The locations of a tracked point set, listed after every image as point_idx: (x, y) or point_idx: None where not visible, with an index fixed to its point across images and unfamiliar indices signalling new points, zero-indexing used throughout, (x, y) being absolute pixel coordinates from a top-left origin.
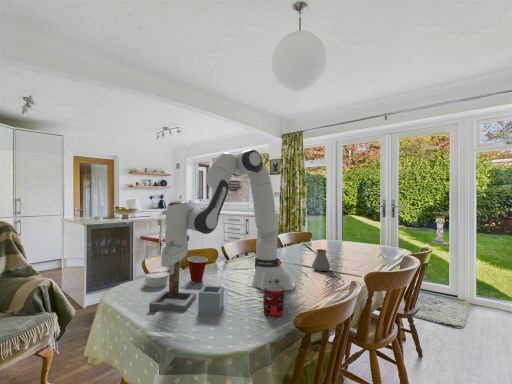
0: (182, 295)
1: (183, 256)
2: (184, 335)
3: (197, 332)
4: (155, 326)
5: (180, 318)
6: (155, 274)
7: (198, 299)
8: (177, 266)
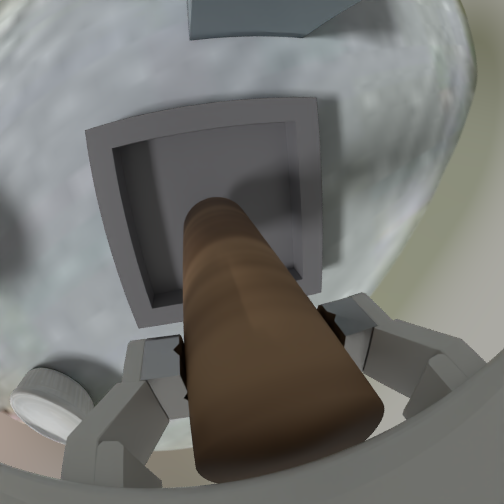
0: (127, 207)
1: (6, 497)
2: (434, 66)
3: (412, 30)
4: (411, 177)
5: (347, 105)
6: (54, 427)
7: (342, 10)
8: (336, 351)
